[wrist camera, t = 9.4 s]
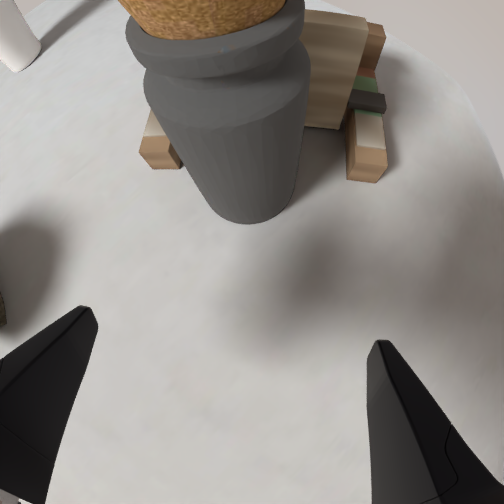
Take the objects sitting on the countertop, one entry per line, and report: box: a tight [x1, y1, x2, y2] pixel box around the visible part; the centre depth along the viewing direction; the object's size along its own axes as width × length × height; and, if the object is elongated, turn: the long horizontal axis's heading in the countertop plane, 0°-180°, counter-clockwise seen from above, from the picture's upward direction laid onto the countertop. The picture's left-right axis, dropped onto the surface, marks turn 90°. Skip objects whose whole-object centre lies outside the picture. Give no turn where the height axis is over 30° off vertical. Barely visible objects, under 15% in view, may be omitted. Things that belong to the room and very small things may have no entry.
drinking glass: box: [0, 0, 41, 72], centre depth 18 cm, size 7×7×15 cm
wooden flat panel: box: [299, 9, 387, 130], centre depth 15 cm, size 1×15×9 cm, turn 85°
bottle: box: [118, 0, 311, 224], centre depth 12 cm, size 6×6×15 cm
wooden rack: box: [139, 22, 388, 183], centre depth 17 cm, size 10×15×6 cm, turn 85°
